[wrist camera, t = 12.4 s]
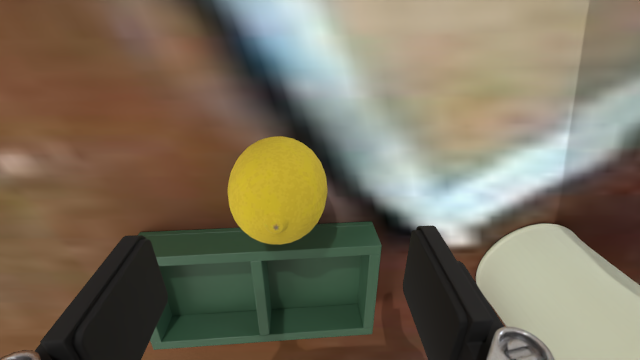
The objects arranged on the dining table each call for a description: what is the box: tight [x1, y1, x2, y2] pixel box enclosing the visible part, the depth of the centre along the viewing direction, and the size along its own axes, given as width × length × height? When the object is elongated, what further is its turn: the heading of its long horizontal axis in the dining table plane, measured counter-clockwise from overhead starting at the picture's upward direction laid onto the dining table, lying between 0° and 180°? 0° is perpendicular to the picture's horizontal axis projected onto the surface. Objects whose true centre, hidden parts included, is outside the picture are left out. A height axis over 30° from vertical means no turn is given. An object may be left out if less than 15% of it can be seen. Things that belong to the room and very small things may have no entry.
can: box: [476, 224, 640, 360], centre depth 22 cm, size 9×9×12 cm
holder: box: [139, 222, 382, 350], centre depth 24 cm, size 9×17×3 cm, turn 90°
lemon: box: [228, 136, 327, 245], centre depth 18 cm, size 6×6×8 cm
